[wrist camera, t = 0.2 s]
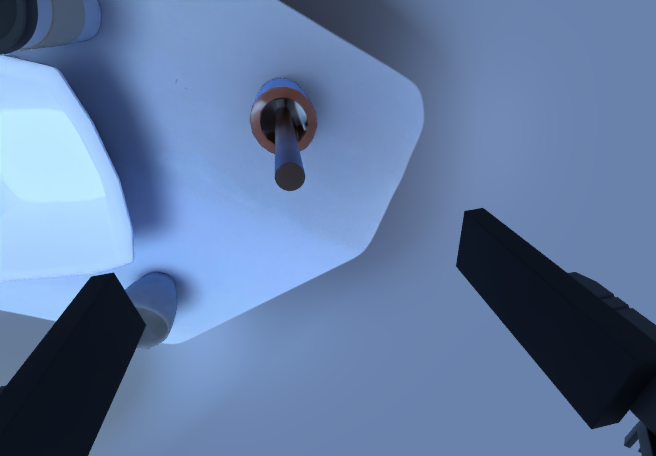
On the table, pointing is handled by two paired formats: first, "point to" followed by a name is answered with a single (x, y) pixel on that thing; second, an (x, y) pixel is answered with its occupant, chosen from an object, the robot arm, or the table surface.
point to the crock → (266, 110)
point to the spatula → (287, 150)
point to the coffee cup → (46, 23)
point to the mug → (154, 306)
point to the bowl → (55, 181)
